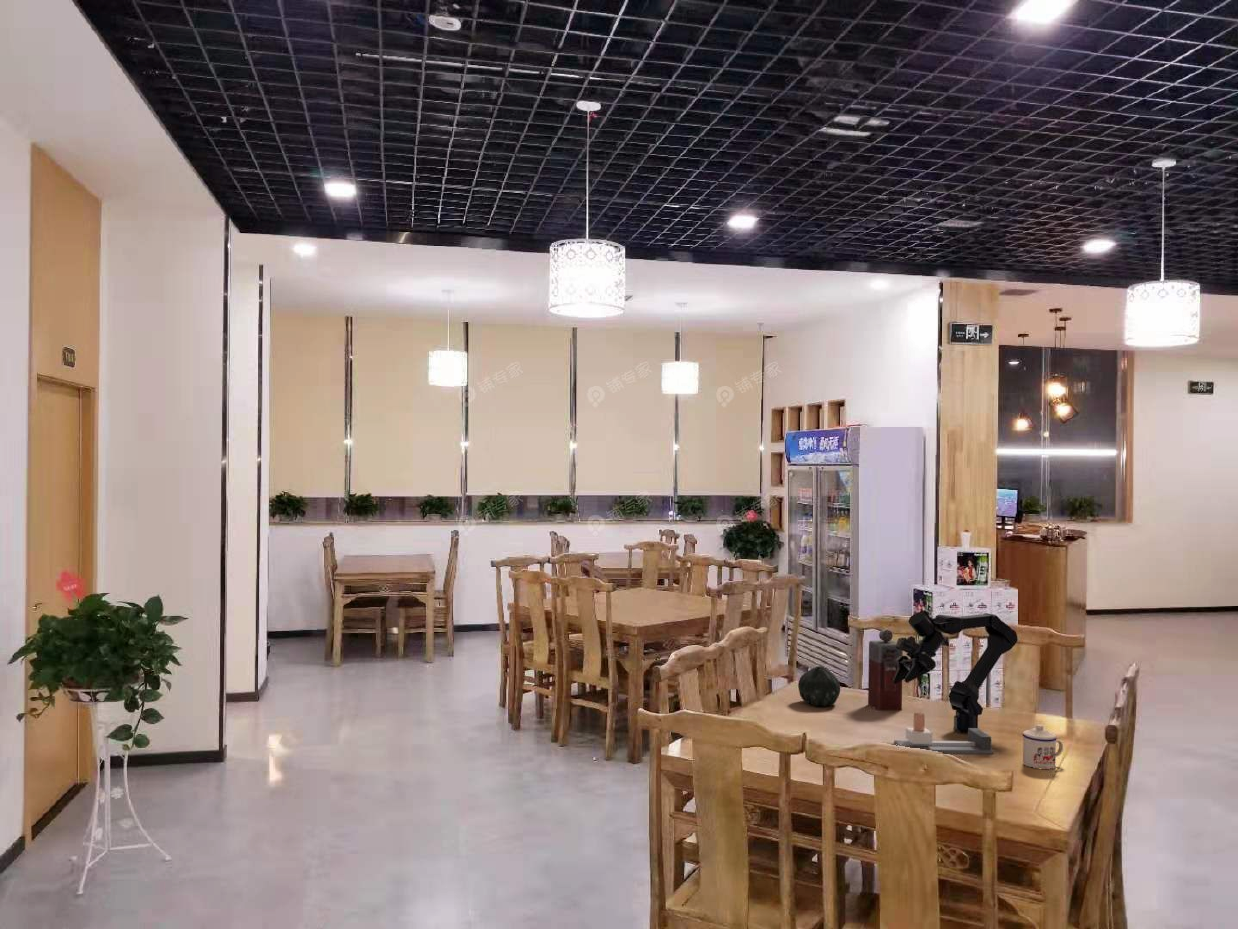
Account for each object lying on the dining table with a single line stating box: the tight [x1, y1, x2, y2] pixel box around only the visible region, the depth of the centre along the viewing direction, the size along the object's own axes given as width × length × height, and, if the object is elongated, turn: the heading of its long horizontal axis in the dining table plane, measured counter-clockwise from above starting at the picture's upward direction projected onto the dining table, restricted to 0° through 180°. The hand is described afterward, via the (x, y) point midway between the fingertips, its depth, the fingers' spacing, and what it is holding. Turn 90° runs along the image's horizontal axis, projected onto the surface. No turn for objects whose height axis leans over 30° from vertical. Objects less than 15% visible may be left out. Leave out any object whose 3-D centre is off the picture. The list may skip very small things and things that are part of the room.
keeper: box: [905, 712, 933, 744], centre depth 290 cm, size 6×6×8 cm
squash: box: [797, 665, 841, 707], centre depth 344 cm, size 14×15×15 cm
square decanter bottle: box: [867, 628, 904, 712], centre depth 340 cm, size 9×11×28 cm
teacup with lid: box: [1022, 724, 1064, 770], centre depth 275 cm, size 12×9×12 cm
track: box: [893, 727, 994, 755], centre depth 290 cm, size 27×10×5 cm, turn 92°
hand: (899, 682), depth 301 cm, fingers open, 9 cm apart
